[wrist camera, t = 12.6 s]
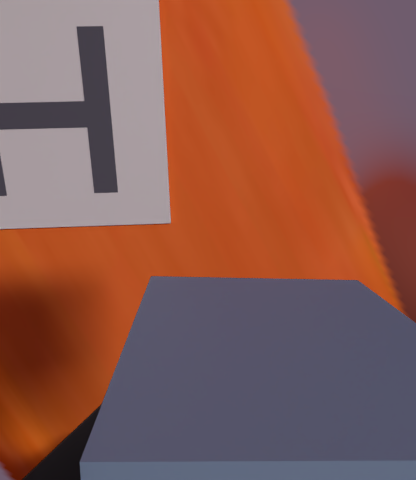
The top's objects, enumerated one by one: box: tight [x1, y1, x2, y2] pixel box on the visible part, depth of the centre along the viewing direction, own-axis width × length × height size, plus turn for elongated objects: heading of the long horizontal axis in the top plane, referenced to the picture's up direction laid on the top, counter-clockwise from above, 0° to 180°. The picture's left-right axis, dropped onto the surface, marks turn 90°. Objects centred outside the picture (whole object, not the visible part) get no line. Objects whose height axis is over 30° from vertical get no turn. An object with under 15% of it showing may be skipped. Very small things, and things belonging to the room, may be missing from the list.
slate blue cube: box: [80, 276, 416, 480], centre depth 6 cm, size 5×5×5 cm
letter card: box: [0, 0, 171, 229], centre depth 16 cm, size 11×12×1 cm
